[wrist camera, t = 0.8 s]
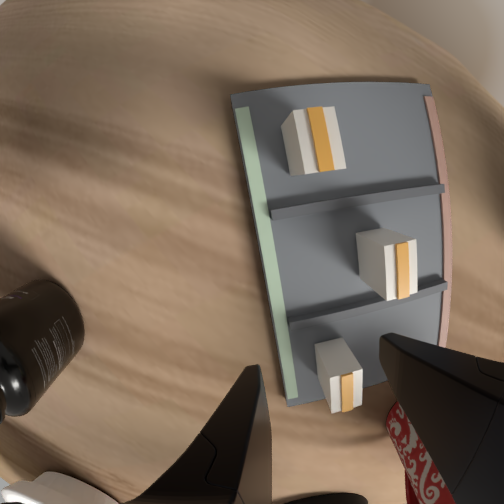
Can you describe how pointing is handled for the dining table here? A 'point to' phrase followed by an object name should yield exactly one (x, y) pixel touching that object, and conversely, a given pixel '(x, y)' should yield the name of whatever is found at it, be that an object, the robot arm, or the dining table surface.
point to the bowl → (54, 491)
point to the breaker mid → (388, 262)
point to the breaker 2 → (339, 375)
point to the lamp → (333, 499)
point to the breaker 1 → (313, 141)
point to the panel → (347, 222)
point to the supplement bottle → (35, 343)
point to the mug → (416, 462)
